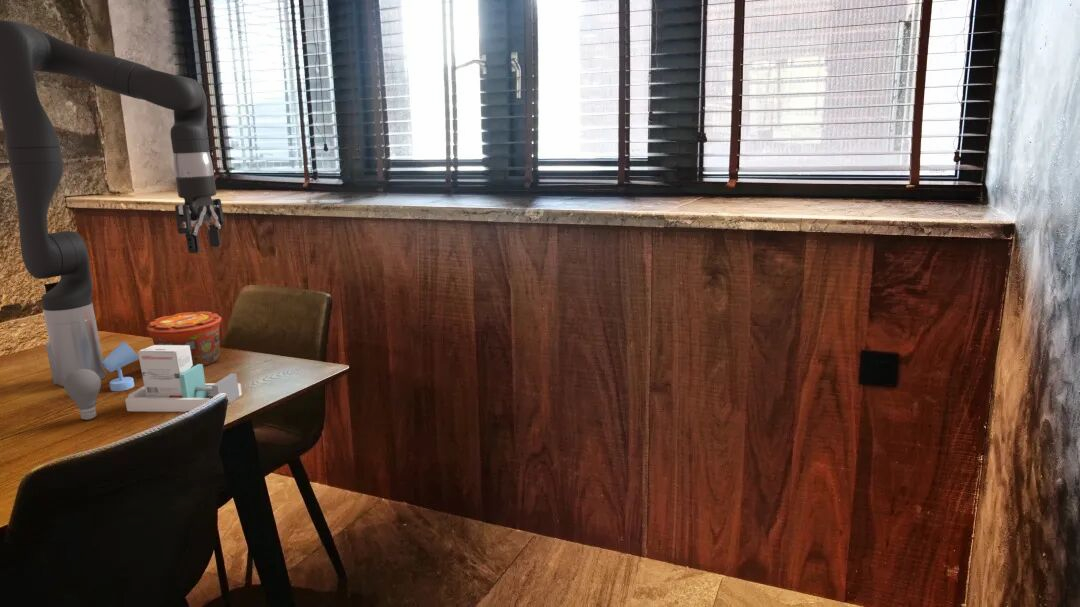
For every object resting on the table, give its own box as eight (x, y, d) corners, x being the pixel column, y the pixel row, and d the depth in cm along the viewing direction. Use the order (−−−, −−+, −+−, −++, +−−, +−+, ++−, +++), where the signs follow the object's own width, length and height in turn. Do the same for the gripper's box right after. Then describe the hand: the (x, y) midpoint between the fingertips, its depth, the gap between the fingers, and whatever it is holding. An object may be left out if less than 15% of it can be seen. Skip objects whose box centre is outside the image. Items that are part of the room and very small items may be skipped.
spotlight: (137, 380, 162) (103, 389, 157) (130, 337, 160) (95, 344, 155) (146, 384, 159) (111, 394, 154) (138, 341, 157) (103, 348, 152)
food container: (200, 374, 165) (193, 328, 162) (137, 372, 168) (130, 327, 165) (240, 352, 180) (234, 310, 178) (182, 351, 183) (175, 310, 180)
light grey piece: (127, 411, 144) (122, 387, 143) (155, 394, 153) (151, 371, 152) (218, 411, 142) (214, 387, 141) (241, 394, 151) (238, 371, 150)
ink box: (200, 399, 149) (191, 344, 146) (185, 408, 144) (175, 351, 142) (162, 398, 151) (153, 343, 148) (146, 406, 146) (136, 350, 143)
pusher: (184, 407, 144) (179, 374, 142) (202, 395, 150) (197, 364, 149) (209, 407, 143) (204, 375, 142) (226, 395, 150) (222, 364, 148)
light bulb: (81, 413, 143) (71, 365, 141) (113, 411, 144) (104, 363, 142) (64, 425, 138) (54, 375, 135) (97, 423, 138) (88, 373, 136)
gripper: (192, 176, 148) (203, 255, 152) (228, 171, 162) (238, 244, 166) (157, 177, 149) (170, 255, 153) (196, 172, 163) (207, 244, 167)
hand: (205, 249), depth 159 cm, fingers open, 8 cm apart
